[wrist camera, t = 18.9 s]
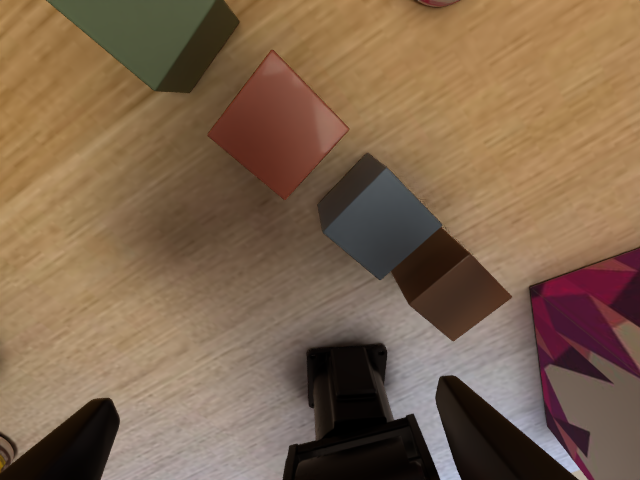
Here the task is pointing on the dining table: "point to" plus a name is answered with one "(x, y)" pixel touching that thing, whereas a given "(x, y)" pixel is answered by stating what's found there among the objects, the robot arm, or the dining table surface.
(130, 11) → the block
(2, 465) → the supplement bottle
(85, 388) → the dining table surface
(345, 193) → the block
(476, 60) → the dining table surface
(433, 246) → the block
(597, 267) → the decorative box
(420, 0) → the pill bottle
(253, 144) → the block
